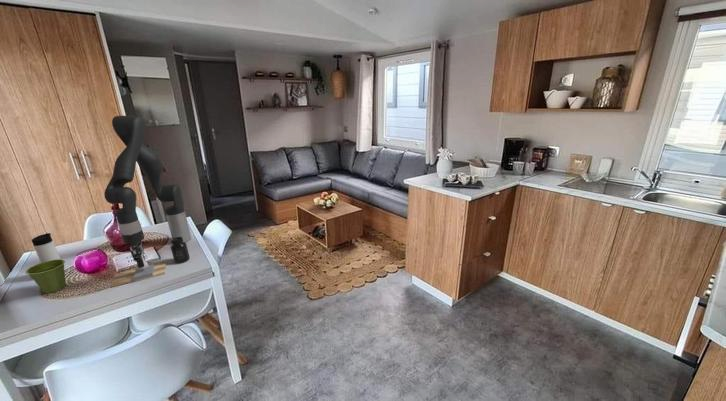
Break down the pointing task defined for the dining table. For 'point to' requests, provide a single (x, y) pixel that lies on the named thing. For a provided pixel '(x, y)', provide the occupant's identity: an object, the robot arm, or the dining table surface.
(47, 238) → the travel mug
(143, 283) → the dining table surface
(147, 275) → the grey picture frame
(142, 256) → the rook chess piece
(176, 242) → the supplement bottle
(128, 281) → the mat
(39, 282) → the plant pot
